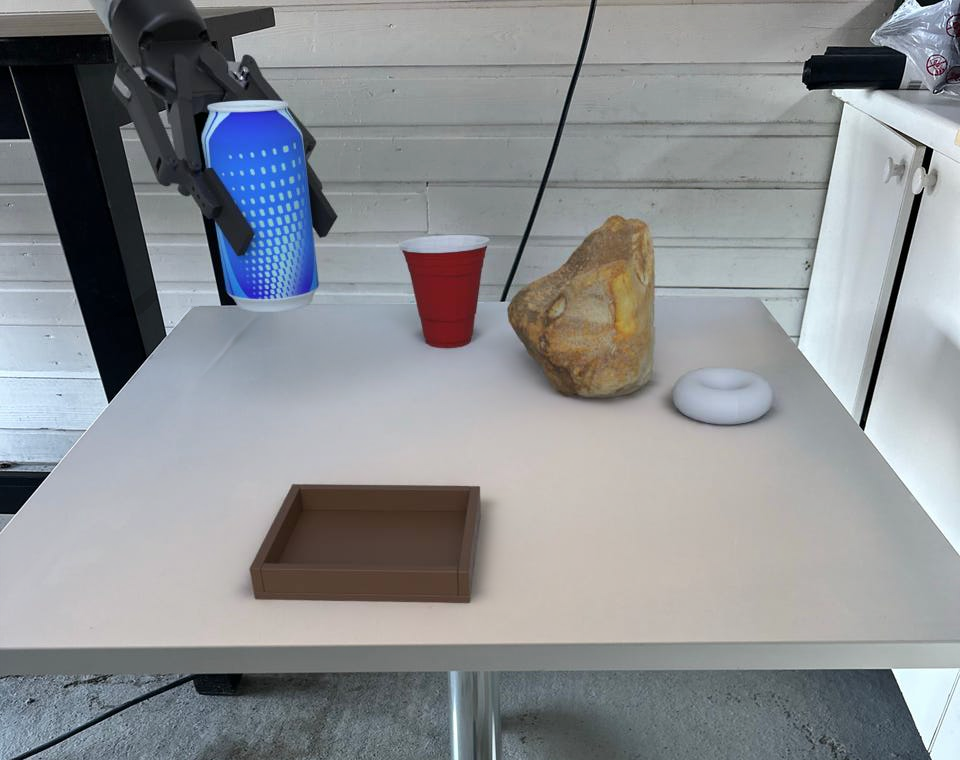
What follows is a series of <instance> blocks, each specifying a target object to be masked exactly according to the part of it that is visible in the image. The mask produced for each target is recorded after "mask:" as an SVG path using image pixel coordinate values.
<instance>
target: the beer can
mask: <svg viewBox="0 0 960 760" xmlns="http://www.w3.org/2000/svg"><path fill="white" fill-rule="evenodd" d="M283 101H284V100H283ZM283 101H272V100H249V101H230V102H226V101H224V102H220V103H214V104H210V105H208V110H209V113H208V117H207V118H206V122H205V125H204V127H203V130H202V132H201V136H200V137H201V146H202V151H203V158H204V164H205V168H211V167H213V169H214V171H215V172H216V174H217V175H218V177H219V178H220V180H221V181H222V183H223V184H224V186H225V187H226V189H227V191H228V192H229V194H230V195H231V197H232V199H233V200H234V202H235V203H236V205H237V206H238V208H239V210H240V211H241V213H242V214H243V216H244V217H245V219H246V221H247V222H248V224H249V225H250V227H251V228H252V230H253V232H254V233H255V235H254V237H253V239H252V241H251V243H250V245H249V247H248V249H247V251H246V253H245V255H241V256H237V255H236V253H235V252H234V250H233V249H232V247H231V245H230V244H229V242H228V241H227V239H226V238H225V236H224V234H223V233H222V231H221V230H220V228H219V226H218V225H217V223H216V222H215V221H214V224H215V225H214V226H215V231H216V236H217V242H218V249H219V255H220V261H221V267H222V273H223V279H224V283H225V284H224V286H225V291H226V293H227V294H228V296H229V297H231V298H232V299H233V300H234V303H236V304H235V305H237V307H238V308H239V309H241V310H244V311H248V312H254V313H281V312H288V311H294V310H298V309H302V308H304V307H307V306H308V305H310V304H311V303H312V302H313V301H314V300H313V298H314V296H315V293H316V292H317V290H318V288H319V286H320V282H319V272H318V264H317V263H318V262H317V254H316V244H315V237H314V228H313V226H312V217H311V208H310V199H309V189H308V180H307V171H306V162H305V153H304V144H303V136H302V132H301V130H300V129H299V127H298V126H297V124H296V122H295V121H294V119H293V118H292V116H291V115H290V113H289V112H288V109H287V107H289V102H287V101H284V102H283Z"/></svg>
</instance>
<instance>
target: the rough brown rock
mask: <svg viewBox="0 0 960 760" xmlns="http://www.w3.org/2000/svg"><path fill="white" fill-rule="evenodd" d="M652 236H653V235H652V233H651V230H650V228H649V226H648V224H647V222H645V221H643V220H641V219H639V218H632V217H631V218H627V219H626V218H624V217H623V216H621V215H619V214H614V215H611V216H610V217H607V219H606V220H605V221H604V223H603V224H602V225H601V226H600V227H598V228H597V229H594V230H593V231H591V232H589V234H588V235H587V236H586V237H585V238H584V239H583V241H582V242H581V243H580V245H579V246H578V247H577V248H575V249H574V251H572V253H571V255H569V256H568V259H567V260H566V262H565V263H563V264H562V265H561V266H560V267H559V268H558V269H556V270H555V271H553V272H551V273H549V274H547V275H545V276H543V277H541V278H539V279H535V280H533V281H532V282H531V283H529V284H527V285H525V286H524V287H522V288H521V289H520V290H519V291H518V292H517V293H515V295H514V296H513V297H512V298H511V301H510V302H509V303H508V306H507V308H506V311H507V319H508V323H509V325H510V326H511V328H512V330H513V331H514V333H515V335H516V336H517V337H518V339H519V340H520V342H521V343H522V344H523V346H524V348H525V349H526V352H527V353H528V355H529V356H530V357H531V358H532V360H533V361H534V362H535V363H538V365H539V366H540V367H541V369H542V370H543V373H544V374H545V376H546V377H547V379H548V381H549V382H550V384H551V385H552V387H554V389H555V390H556V391H557V392H560V393H561V394H562V395H563V396H566V397H570V396H571V395H573V394H576V395H578V396H580V397H582V398H601V399H602V398H603V399H606V398H615V397H621V396H625V395H626V396H627V395H628V394H631V393H634V392H636V391H638V390H640V389H642V388H643V387H645V386H646V385H647V384H648V383H649V382H650V380H651V378H652V375H653V370H654V352H655V346H656V327H655V299H656V297H655V296H656V295H655V290H656V282H655V281H656V275H655V248H654V242H653V237H652Z"/></svg>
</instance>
